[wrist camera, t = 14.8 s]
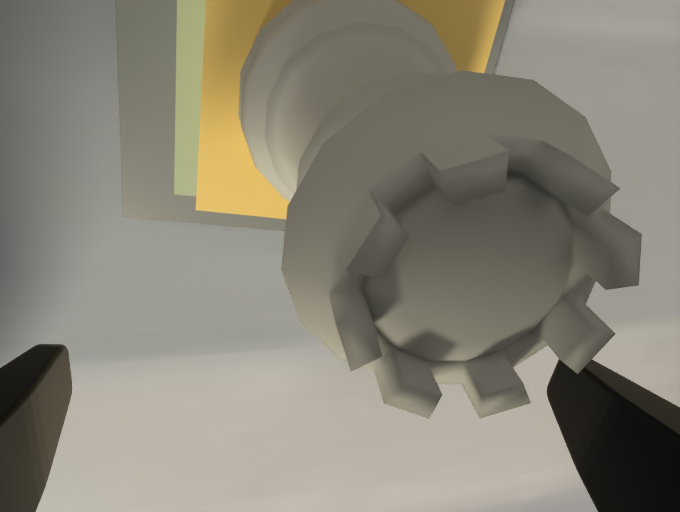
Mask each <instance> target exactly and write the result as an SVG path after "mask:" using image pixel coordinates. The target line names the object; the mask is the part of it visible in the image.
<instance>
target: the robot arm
mask: <svg viewBox="0 0 680 512" xmlns="http://www.w3.org/2000/svg"><path fill="white" fill-rule="evenodd" d="M71 394H72V379H71V370H70V362H69V354H68V350H67V348H66V347H65V346H64V345H61V344H39V345H36V346H34V347H32V348H31V349H29V350H28V351H26V352H25V353H23V354H21V355H20V356H18V357H17V358H15V359H14V360H12V361H11V362H9V363H7V364H6V365H4V366H3V367H1V368H0V512H36V509H37V507H38V504H39V502H40V499H41V497H42V494H43V491H44V489H45V486H46V483H47V480H48V476H49V473H50V470H51V466H52V463H53V459H54V456H55V452H56V448H57V445H58V441H59V438H60V434H61V431H62V427H63V424H64V420H65V417H66V413H67V410H68V406H69V403H70V399H71ZM547 396H548V400H549V402H550V405H551V407H552V410H553V412H554V415H555V417H556V420H557V422H558V425H559V427H560V430H561V432H562V435H563V437H564V440H565V442H566V445H567V447H568V450H569V452H570V455H571V457H572V460H573V462H574V464H575V467H576V469H577V471H578V473H579V475H580V477H581V479H582V481H583V483H584V485H585V487H586V489H587V491H588V493H589V495H590V497H591V499H592V501H593V503H594V505H595V507H596V509H597V511H598V512H680V407H678V406H676V405H674V404H672V403H671V402H669V401H667V400H665V399H663V398H661V397H660V396H658V395H656V394H654V393H652V392H650V391H649V390H647V389H645V388H643V387H641V386H639V385H638V384H636V383H634V382H632V381H630V380H628V379H627V378H625V377H623V376H621V375H619V374H617V373H616V372H614V371H612V370H610V369H608V368H607V367H605V366H603V365H601V364H599V363H597V362H596V361H594V360H592V359H591V360H590V362H589V363H588V364H587V365H586V366H585V367H584V368H583V369H582V370H581V371H580V372H579V373H578V374H577V373H576V372H575V371H573V370H572V369H571V368H570V367H568V366H567V365H566V364H565V363H563V362H562V361H561V360H560V359H559V361H558V363H557V365H556V367H555V370H554V372H553V374H552V377H551V379H550V381H549V384H548V387H547Z"/></svg>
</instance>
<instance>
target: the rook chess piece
mask: <svg viewBox="0 0 680 512" xmlns="http://www.w3.org/2000/svg"><path fill="white" fill-rule="evenodd" d="M238 116H239V119H240V122H241V128H242V131H243V134H244V137H245V140H246V142H247V145H248V148H249V151H250V154H251V156H252V159H253V162H254V165H255V167H256V168H257V169H258V170H259V172H260V173H261V174H262V175H263V176H264V177H265V178H266V179H267V180H268V182H269V183H270V184H271V185H272V186H273V187H274V188H275V189H276V190H277V191H278V193H279V194H280V195H281V196H282V197H283V198H284V199H286V200H287V201H289V202H290V203H289V204H288V207H287V217H286V227H285V237H284V247H283V257H282V267H281V270H282V273H283V276H284V278H285V281H286V284H287V286H288V289H289V292H290V295H291V297H292V300H293V303H294V305H295V308H296V311H297V314H298V316H299V319H300V322H301V323H302V324H303V325H304V326H305V327H306V328H307V329H308V330H309V331H310V332H311V333H312V334H313V335H314V336H315V337H317V338H318V339H319V340H320V341H321V342H322V343H323V344H324V345H325V346H326V347H327V348H328V349H329V350H330V351H331V352H332V353H333V354H334V355H335V356H336V357H337V358H338V359H340V360H343V361H346V362H348V364H349V367H350V370H351V371H353V370H355V369H357V368H359V367H362V368H365V369H367V370H370V371H373V372H375V375H376V378H377V382H378V385H379V388H380V391H381V395H382V398H383V401H384V403H385V404H388V405H391V406H394V407H397V408H399V409H402V410H405V411H408V412H411V413H414V414H417V415H420V416H422V417H425V418H428V419H429V418H430V416H431V414H432V412H433V411H434V409H435V407H436V405H437V403H438V402H439V400H440V398H441V396H442V393H441V391H440V389H439V387H438V385H437V384H462V385H463V387H464V389H465V391H466V393H467V395H468V397H469V399H470V401H471V403H472V405H473V407H474V409H475V410H476V412H477V414H478V416H479V418H483V417H486V416H489V415H493V414H496V413H499V412H503V411H506V410H509V409H513V408H516V407H519V406H523V405H526V404H529V403H531V402H530V400H529V397H528V395H527V392H526V390H525V387H524V384H523V382H522V381H521V379H520V378H519V376H518V375H517V373H516V372H515V370H514V369H513V367H514V366H516V365H517V364H519V363H521V362H522V361H524V360H525V359H527V358H528V357H530V356H532V355H533V354H535V353H536V352H538V351H539V350H541V349H543V348H544V347H546V346H547V345H548V346H549V347H550V348H551V349H552V350H553V352H554V353H555V354H556V355H557V357H558V358H559V359H560V360H561V361H562V362H563V363H565V364H566V365H567V366H568V367H570V368H571V369H572V370H573V371H575V372H576V373H577V374H578V373H579V372H580V371H581V370H582V369H583V368H584V367H585V366H586V365H587V364H588V363H589V362H590V360H591V359H592V358H593V357H594V356H595V355H596V354H597V353H598V352H599V351H600V350H601V349H602V348H603V347H604V346H605V344H606V343H607V342H608V341H609V340H610V339H611V338H612V337H613V336H614V335H615V333H614V332H613V331H612V330H611V329H610V328H609V327H608V326H607V325H606V324H605V323H604V322H603V321H602V320H601V319H600V318H599V317H598V316H597V315H596V314H595V313H594V312H593V311H592V310H591V309H590V308H588V307H587V306H586V305H585V304H586V302H587V300H588V298H589V295H590V293H591V291H592V288H593V286H594V284H595V281H597V282H598V283H599V284H600V285H601V286H602V287H603V288H605V289H606V290H607V289H615V288H622V287H630V286H637V285H639V271H640V253H641V236H642V234H641V233H639V232H638V231H636V230H634V229H633V228H631V227H630V226H628V225H627V224H625V223H624V222H622V221H621V220H619V219H617V218H616V217H614V216H613V215H611V214H610V197H611V196H612V195H613V194H614V193H615V192H617V191H618V190H619V189H620V188H619V187H617V186H616V185H614V184H613V183H611V170H610V168H609V166H608V164H607V162H606V160H605V158H604V155H603V153H602V151H601V149H600V147H599V145H598V143H597V140H596V138H595V136H594V134H593V132H592V130H591V128H590V126H589V123H588V121H587V119H586V117H584V116H583V115H582V114H580V113H579V112H577V111H576V110H575V109H573V108H572V107H570V106H569V105H568V104H566V103H565V102H563V101H562V100H561V99H559V98H558V97H556V96H555V95H554V94H552V93H551V92H549V91H548V90H547V89H545V88H544V87H542V86H541V85H540V84H538V83H537V82H535V81H534V80H529V79H522V78H515V77H507V76H500V75H493V74H485V73H478V72H471V71H464V70H461V71H458V72H457V71H456V66H455V63H454V61H453V60H452V58H451V56H450V55H449V53H448V51H447V49H446V48H445V46H444V44H443V43H442V41H441V39H440V37H439V36H438V34H437V32H436V31H435V29H434V27H433V25H432V24H431V23H429V22H428V21H427V20H425V19H424V18H422V17H421V16H420V15H418V14H417V13H415V12H414V11H412V10H411V9H410V8H408V7H407V6H405V5H404V4H402V3H401V2H400V1H398V0H293V1H292V2H291V3H290V4H289V5H288V6H286V7H285V8H284V9H283V10H282V11H281V12H280V13H278V14H277V15H276V16H275V17H274V18H273V19H272V20H270V21H269V22H268V23H267V24H266V25H265V26H263V27H262V28H261V29H260V31H259V33H258V35H257V37H256V39H255V41H254V44H253V46H252V48H251V50H250V52H249V54H248V56H247V58H246V60H245V63H244V65H243V67H242V69H241V71H240V90H239V110H238Z"/></svg>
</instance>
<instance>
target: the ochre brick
mask: <svg viewBox="0 0 680 512" xmlns="http://www.w3.org/2000/svg"><path fill="white" fill-rule="evenodd" d="M292 1H293V0H206V9H205V29H204V50H203V70H202V91H201V111H200V132H199V152H198V172H197V193H196V210H199V211H209V212H219V213H229V214H239V215H249V216H259V217H269V218H279V219H286V217H287V207H288V204H289V203H290V202H289V201H287V200H286V199H284V198H283V197H282V196H281V195H280V194H279V193H278V191H277V190H276V189H275V188H274V187H273V186H272V185H271V184H270V183H269V182H268V180H267V179H266V178H265V177H264V176H263V175H262V174H261V173H260V172H259V170H258V169H257V168H256V167H255V165H254V162H253V159H252V156H251V154H250V151H249V148H248V145H247V142H246V140H245V137H244V134H243V131H242V128H241V122H240V119H239V116H238V110H239V90H240V71H241V69H242V67H243V65H244V63H245V60H246V58H247V56H248V54H249V52H250V50H251V48H252V46H253V44H254V41H255V39H256V37H257V35H258V33H259V31H260V29H261V28H262V27H263V26H265V25H266V24H267V23H268V22H269V21H270V20H272V19H273V18H274V17H275V16H276V15H277V14H278V13H280V12H281V11H282V10H283V9H284V8H285V7H286V6H288V5H289V4H290V3H291V2H292ZM398 1H400V2H401V3H402V4H404V5H405V6H407V7H408V8H410V9H411V10H412V11H414V12H415V13H417V14H418V15H420V16H421V17H422V18H424V19H425V20H427V21H428V22H429V23H431V24H432V25H433V27H434V29H435V31H436V32H437V34H438V36H439V37H440V39H441V41H442V43H443V44H444V46H445V48H446V49H447V51H448V53H449V55H450V56H451V58H452V60H453V61H454V63H455V66H456V71H457V72H458V71H461V70H464V71H471V72H478V73H484V72H485V69H486V65H487V62H488V58H489V55H490V51H491V48H492V44H493V41H494V37H495V34H496V31H497V27H498V24H499V20H500V17H501V13H502V10H503V6H504V3H505V0H398Z"/></svg>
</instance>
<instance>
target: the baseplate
mask: <svg viewBox="0 0 680 512" xmlns="http://www.w3.org/2000/svg"><path fill="white" fill-rule="evenodd" d="M513 3H514V0H505V3H504V6H503V10H502V13H501V17H500V20H499V24H498V27H497V31H496V34H495V37H494V41H493V44H492V48H491V51H490V55H489V58H488V62H487V65H486V69H485V72H484V73H485V74H493V73H494V69H495V66H496V62H497V59H498V55H499V52H500V48H501V45H502V41H503V38H504V34H505V31H506V27H507V24H508V20H509V17H510V13H511V10H512V7H513ZM205 9H206V0H116V21H117V51H118V80H119V110H120V139H121V169H122V198H123V217H128V218H140V219H152V220H163V221H175V222H187V223H198V224H210V225H222V226H233V227H245V228H257V229H268V230H280V231H285V227H286V219H279V218H269V217H259V216H249V215H239V214H229V213H219V212H209V211H199V210H196V193H197V172H198V152H199V132H200V111H201V91H202V70H203V50H204V29H205Z"/></svg>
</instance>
